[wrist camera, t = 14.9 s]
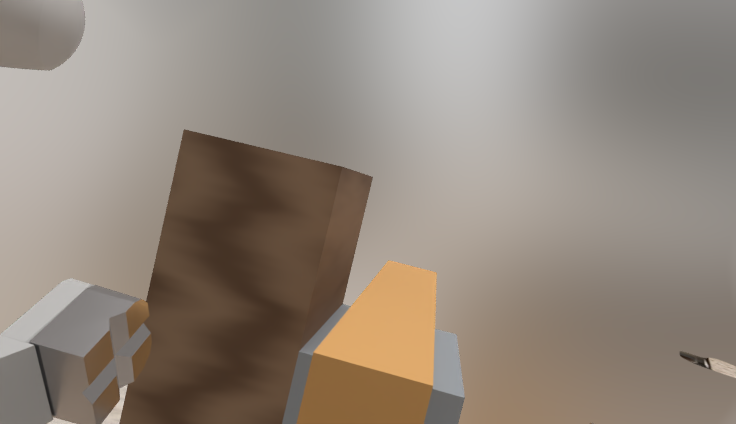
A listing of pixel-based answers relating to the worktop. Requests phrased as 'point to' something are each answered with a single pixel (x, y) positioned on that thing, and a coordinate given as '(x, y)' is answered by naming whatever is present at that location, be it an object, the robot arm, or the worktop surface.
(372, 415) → the orange block
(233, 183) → the walnut stand
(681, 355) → the worktop surface
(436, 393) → the slate block
